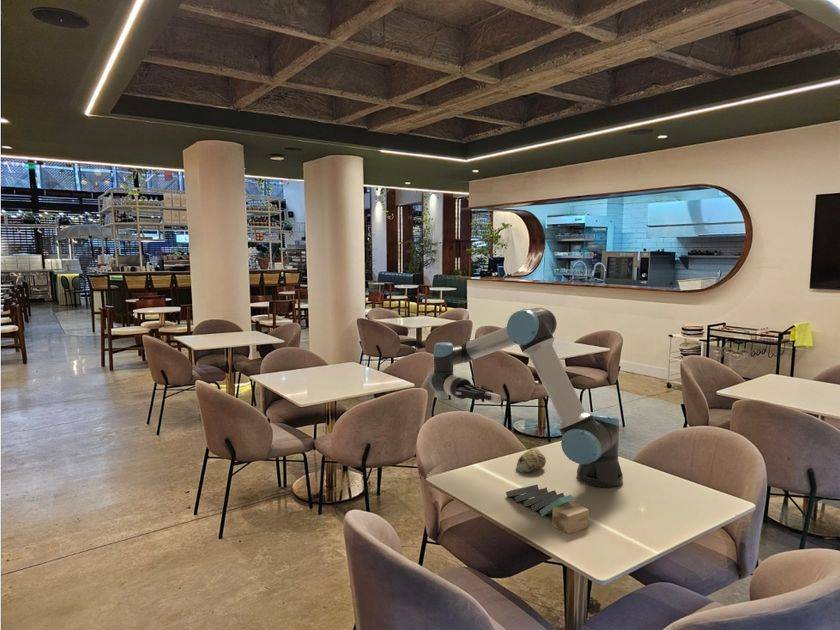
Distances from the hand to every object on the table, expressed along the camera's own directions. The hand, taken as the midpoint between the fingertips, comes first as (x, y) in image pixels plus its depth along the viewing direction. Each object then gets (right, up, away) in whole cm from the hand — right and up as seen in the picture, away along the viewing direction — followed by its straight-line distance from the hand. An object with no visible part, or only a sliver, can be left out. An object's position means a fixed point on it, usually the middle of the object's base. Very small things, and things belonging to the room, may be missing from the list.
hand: (499, 399), depth 180 cm
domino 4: (+9, -30, -18) cm, 36 cm away
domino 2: (+5, -29, -11) cm, 32 cm away
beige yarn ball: (+14, -28, +15) cm, 35 cm away
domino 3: (+7, -30, -15) cm, 34 cm away
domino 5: (+11, -30, -21) cm, 38 cm away
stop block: (+16, -31, -28) cm, 45 cm away
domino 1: (+3, -29, -8) cm, 30 cm away
